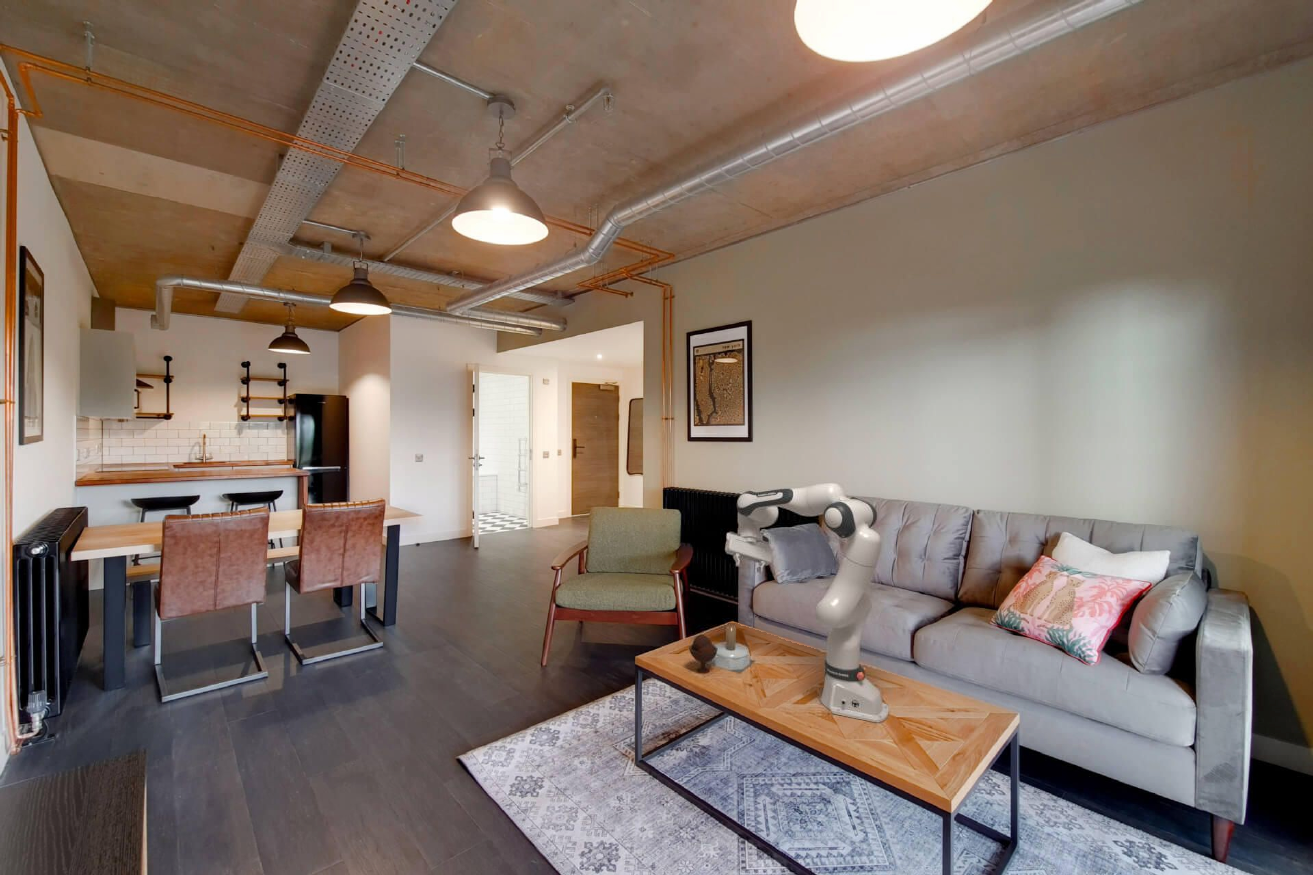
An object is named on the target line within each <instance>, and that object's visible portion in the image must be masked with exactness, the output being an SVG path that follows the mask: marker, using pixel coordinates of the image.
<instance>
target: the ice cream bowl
mask: <svg viewBox="0 0 1313 875" xmlns="http://www.w3.org/2000/svg"><path fill="white" fill-rule="evenodd" d="M714 645H715V644H713V643H712V640H711V639H710V638H709V637H708V636H706V635H705V634H699V635H696V636H695V637H694V639H693V641H692V644H691V645H690V646H689V653H690V655H691V657H692V658H693V659H694V660H695V661H697V662H699V663H700V667H699V668H697V669H696V671H695V672H697V673H698V674H700V675H706V674H709V673H710V672H711V671H710V670H709V669H708V668H706V664H705V663H706V662H709V661H711V660H712V659H713V658H714V657H715V655H716V653H717V648H716V647H715V646H714Z"/></svg>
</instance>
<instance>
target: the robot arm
mask: <svg viewBox="0 0 1313 875" xmlns="http://www.w3.org/2000/svg"><path fill="white" fill-rule="evenodd" d="M778 507H779V508H782V509H786V510H789V511H791V512H793V513H796V514H797V515H799V516H804V517H816V516H821V515H822V520H823V523H824V524H825V526H826V528H827V529H829V530H830V531H832V532H833V533H835V534H836V535H837V536H838V537H839V538H841V539H846V547H845V549H844V552H843V554H842V558H841V562H840V564H839V568H838V570H837V573H836V575H835V577H834V578H833V581H832V582H831V583H830V585H829V587H828V589H827V591H826V592H825V595H824V596H823V597H822V599H821V600H820V601H819V602H818V603H817V604H816V606H815V610H814V613H815V617H816V620H817V622H818V623H819V624H820V625H821V626H822V627H823V628H826V629H828V630H830V633H829V634H828V636H827V639H826V652H825V653H826V654H825V656H826V658H825V660H824V670H823V672H824V673H823V674H824V684H823V689H822V693H821V696H820V699H819V700H820V703H821V704H822V705H823V706H824V707H826V708H827V709H828V710H829V712H830V713H831V714H834V715H839V716H843V717H848V718H853V719H858V720H862V721H867V722H872V723H878V724H879V723H881V722H883V721H885V720H886V719H887V718H888V716H889V715H890V708H889V706H888V704H887V703H885V702H883V698H882V694H881V691H880V690H879V689H878V688H877V687H876V686H875V685H874V684H873V683H872V682H871V681H869V679H868V678H866V667H862V665H860V657H861V656H860V652H861V642H862V641H861V640H862V637H863V633H864V628H865V625H866V621H867V619H868V616H869V615H870V612H871V611H872V605H873V604H872V600H871V598H870V597H869V595H868V594H867V593H866V591H867V590H868V589H869V587H870V585H871V583H872V580H873V577H874V575H875V574H874V573H875V570H876V567H877V565H878V561H879V558H880V555H881V554H880V553H881V548H882V538H881V536H880V534H879V533H878V532H877V531H875V530H874V529H872V527H873V526H874V525H875V524H876V522H877V520H878V512H877V510H876V507H874V505H873V504H872V503H870V502H868V501H865V500H863V499H859V498H857V497H854V496H852V497H850V498H848V497H847V496H846V493H845V491H844V489H843V487H842V486H841V485H839V484H838V483H834V482H831V483H830V482H824V483H818V484H814V485H810V486H809V485H808V486H803V487H797V488H796V487H795V488H793V487H792V488H779V489H770V490H766V491H759V492H757V491H752V490H747V491H745V492H743V493H741V494H740V495H739V496H738V498H737V501H736V509H737V524H738V528H737V533H736V532H734V531H729V532H727V533H726V538H725V539H726V542H725V547H724V551H725V553H726V554H727V555H730V556H732V557H733V560H734V561H735V567H738V568H741V567H742V560H740V558H742V559H745V560H747V561H752V562H754V563H757V564H758V565H759V566H758V567H757V568H756V573H759V574H761V573H762V572H763V568H764V566H768V565H770V564H771V563H772V562H773V558H774V557H773V549H772V546H771V539H770V538H769V537H767V536H766V535H764V534H763V533H762V532H761V531H760V529H761V528H762V529H763V528H767V527H771V526H772V525H774V524H775V523H776V522H777V521H778V518H779V515H780V514H779V508H778Z"/></svg>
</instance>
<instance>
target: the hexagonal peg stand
mask: <svg viewBox="0 0 1313 875" xmlns="http://www.w3.org/2000/svg"><path fill="white" fill-rule="evenodd" d="M736 635H737V627H736V625H733V624H728V625H726V626H725V641H724V642H718V643H716V644H713V645H714V646H715V647H716V648H717V653H716V655H715V657H714V658H713V659H712V660H711V661H712V662H713V664H714V665H715V666H716V667H715V666H714V667H715V668H718V667H719V669H722V668H723V669H722V670H725V669H727V670H726V671H729V670H739V669H744V668H746V667H747V666H748V665H749V664H750V659H751V654H750V653H749V650H750V649H749V648H748V647H747V646H746V645H743V644H742V643H739V642H736V640H737V638H736V637H737V636H736Z"/></svg>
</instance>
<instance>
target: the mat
mask: <svg viewBox="0 0 1313 875" xmlns="http://www.w3.org/2000/svg"><path fill="white" fill-rule="evenodd" d="M755 662H756V660H755V659H751V658H750V664H749V665H748V666H747V667H746V668H744V669H739V670H727V669H723V668H721V669H722V670H726V671H729V672H732V673H733V672H734V673H737V674H742V673H743V672H745V670H746V669H748V668H749V667H750V666H751V665H753V664H755ZM705 665H708V666H711V667H715V668H719V667H716V666H715V665H714V664H713V662H712V661H709V662H706V663H705ZM719 669H720V668H719Z"/></svg>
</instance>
